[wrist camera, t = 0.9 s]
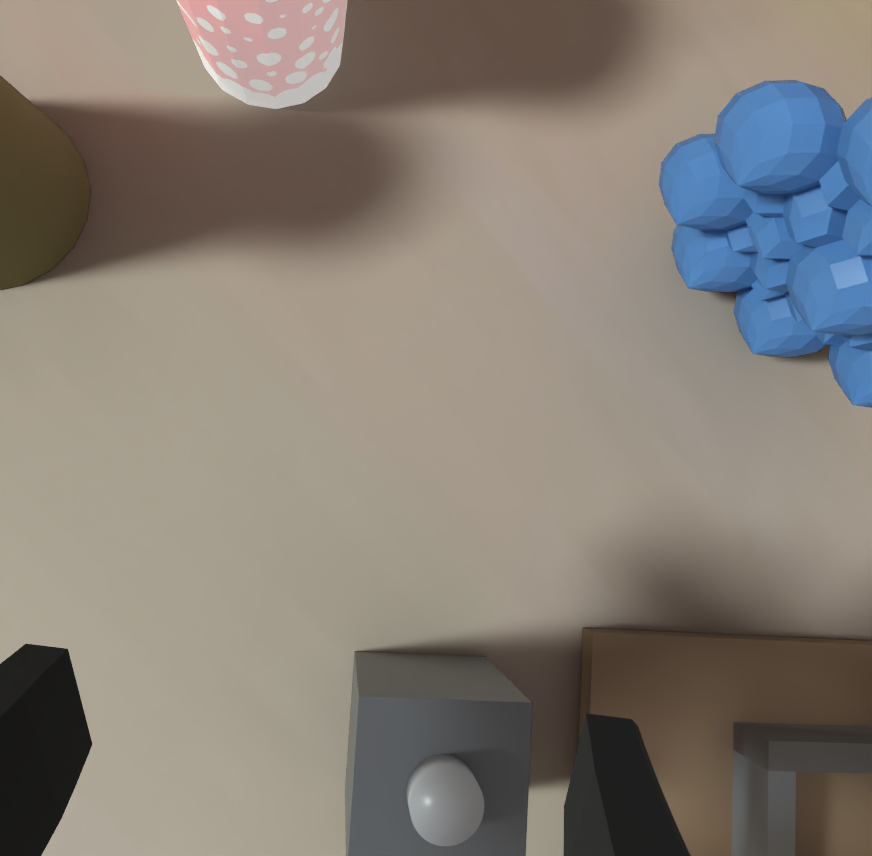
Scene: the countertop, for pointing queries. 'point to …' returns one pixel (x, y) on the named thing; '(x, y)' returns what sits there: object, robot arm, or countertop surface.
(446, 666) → the plug
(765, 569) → the countertop surface
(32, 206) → the cork
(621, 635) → the charging dock
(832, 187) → the grapes
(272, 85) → the beverage cup
